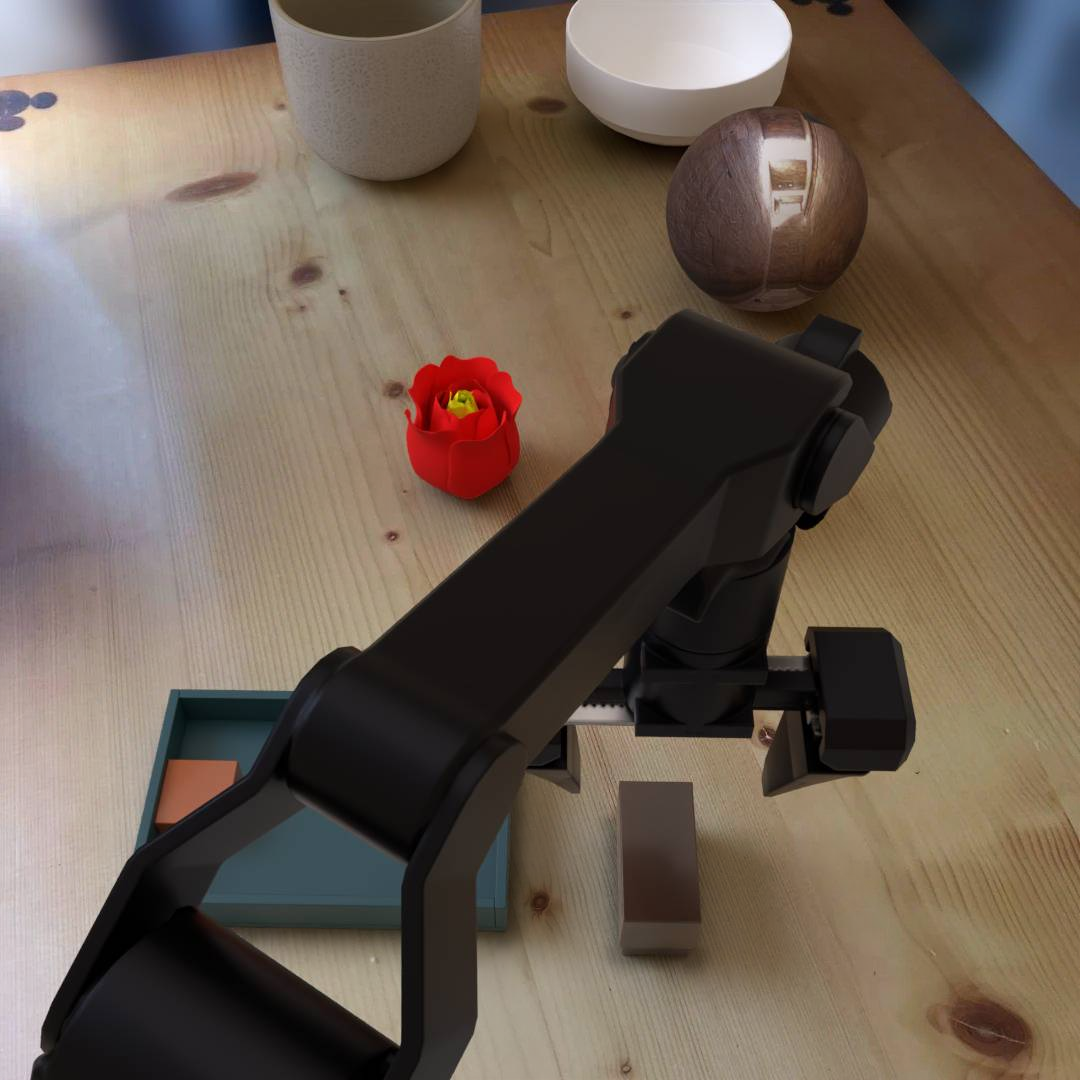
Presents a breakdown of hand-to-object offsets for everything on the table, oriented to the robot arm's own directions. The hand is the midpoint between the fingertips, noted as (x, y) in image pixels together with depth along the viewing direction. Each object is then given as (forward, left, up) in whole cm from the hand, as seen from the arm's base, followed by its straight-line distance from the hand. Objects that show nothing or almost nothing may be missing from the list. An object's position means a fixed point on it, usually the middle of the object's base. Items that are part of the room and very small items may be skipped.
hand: (670, 786), depth 63 cm
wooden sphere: (+41, +32, -12) cm, 53 cm away
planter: (+30, +66, -12) cm, 73 cm away
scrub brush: (0, 0, -12) cm, 12 cm away
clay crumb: (-17, +20, -11) cm, 28 cm away
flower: (+11, +31, -12) cm, 35 cm away
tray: (-11, +15, -12) cm, 22 cm away
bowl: (+53, +54, -12) cm, 77 cm away
